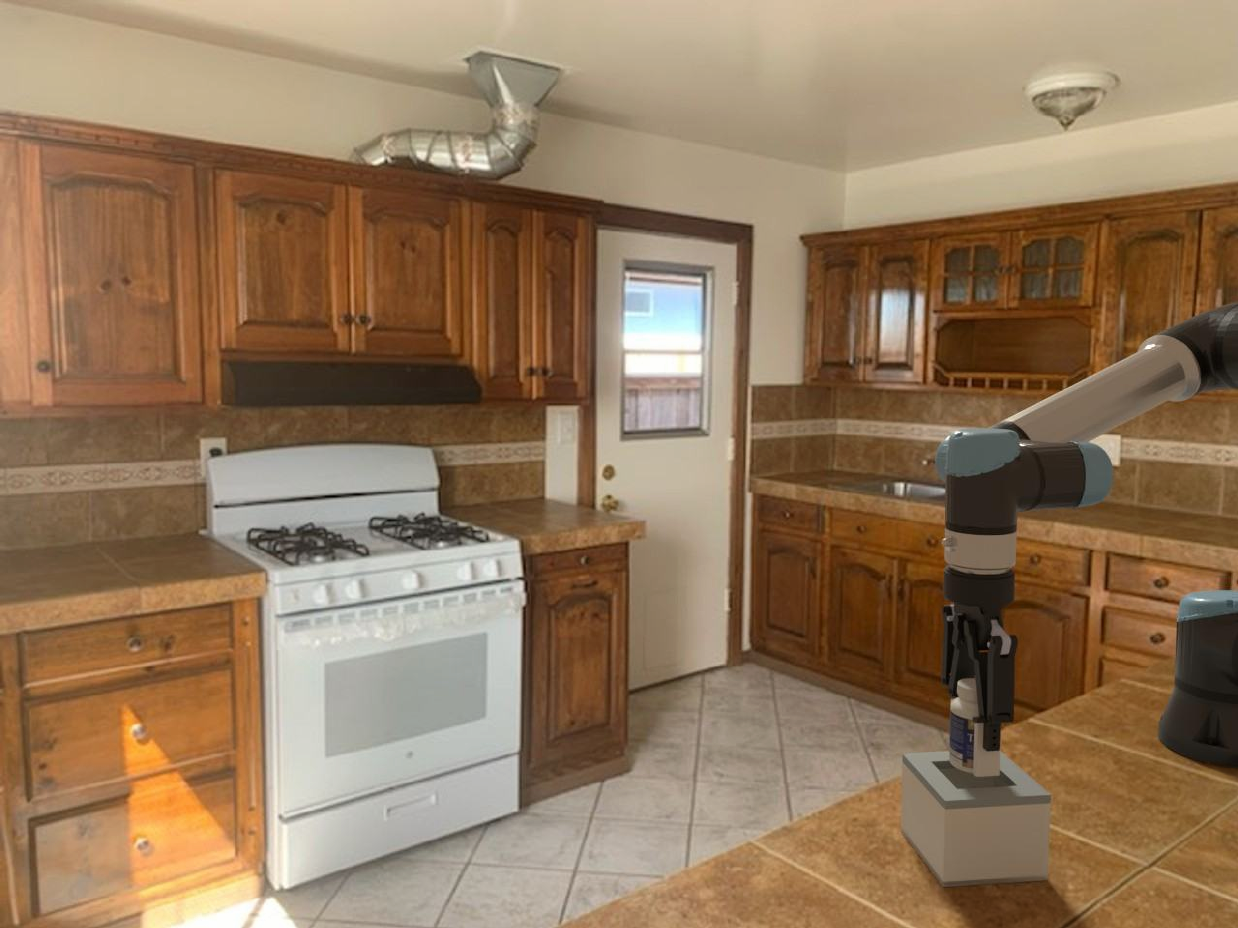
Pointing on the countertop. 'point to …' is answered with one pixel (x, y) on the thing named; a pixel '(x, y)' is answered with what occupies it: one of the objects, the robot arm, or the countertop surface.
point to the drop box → (975, 821)
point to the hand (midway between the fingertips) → (973, 762)
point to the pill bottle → (963, 725)
